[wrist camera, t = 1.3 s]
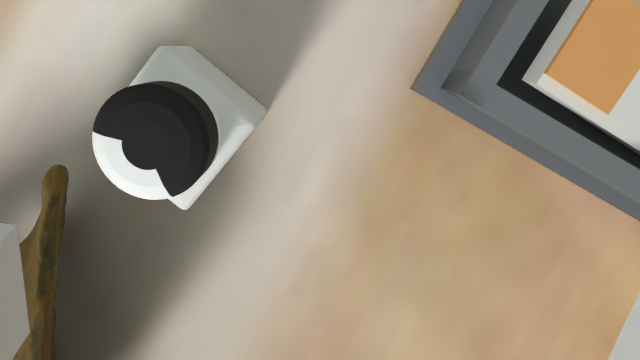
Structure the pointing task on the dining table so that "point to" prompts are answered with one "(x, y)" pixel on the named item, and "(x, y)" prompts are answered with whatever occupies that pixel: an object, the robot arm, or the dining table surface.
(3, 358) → the robot arm
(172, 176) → the medicine bottle
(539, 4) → the box
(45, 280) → the brown cowboy hat
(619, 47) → the rocker
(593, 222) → the dining table surface
